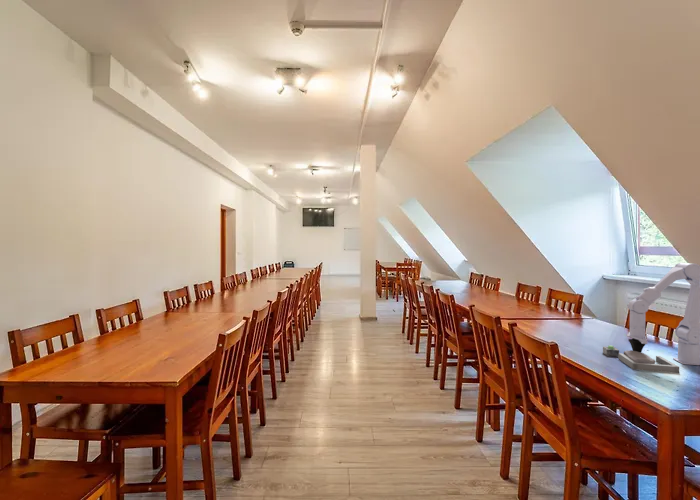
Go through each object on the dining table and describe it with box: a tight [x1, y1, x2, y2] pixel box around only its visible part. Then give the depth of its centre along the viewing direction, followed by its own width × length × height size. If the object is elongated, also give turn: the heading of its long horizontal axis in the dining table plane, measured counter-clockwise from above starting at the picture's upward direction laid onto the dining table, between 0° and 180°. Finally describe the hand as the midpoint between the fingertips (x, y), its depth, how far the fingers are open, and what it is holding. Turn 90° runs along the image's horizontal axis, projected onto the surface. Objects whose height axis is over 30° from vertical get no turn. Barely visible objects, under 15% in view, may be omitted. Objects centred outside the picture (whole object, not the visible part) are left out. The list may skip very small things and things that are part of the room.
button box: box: [602, 346, 620, 358], centre depth 179 cm, size 5×5×3 cm
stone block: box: [623, 349, 656, 364], centre depth 167 cm, size 12×5×10 cm
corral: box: [617, 352, 680, 374], centre depth 164 cm, size 16×16×2 cm
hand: (636, 355), depth 173 cm, fingers closed
